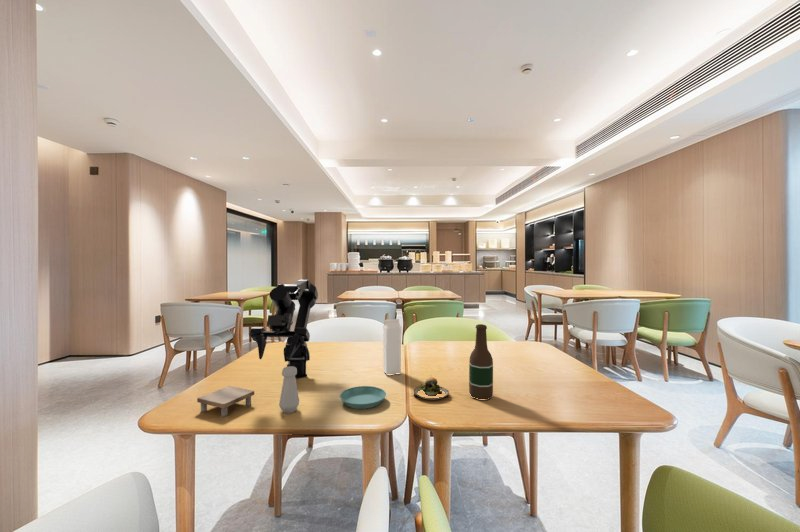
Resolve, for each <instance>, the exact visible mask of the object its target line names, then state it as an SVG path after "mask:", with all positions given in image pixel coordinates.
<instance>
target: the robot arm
mask: <svg viewBox="0 0 800 532" xmlns="http://www.w3.org/2000/svg"><path fill="white" fill-rule="evenodd" d="M269 298H270V300H271V302H272V303H273V306H274V307H275V308H276V313H275V314H271V315H270V314H269V315H268V316H267V323H266V324H267V326H269V329H270V330H266V329H265V328H264V326H263V327H261V326H253V327H252V328H250V329H249V331H248V335H249V336H250V338H251V339H252V340H253V342H255V343H256V344H257V351H258V359H259V360H262V359H263V356H264V353H265V349H266V346H267V341H266V340H268V338H286V343H285V345H284V348H283V356H284V358H283V359H284V362H287V364H286V367H289V366H293V367H296V368H297V374H296V375H295V379H299V378H305V377H308V374H307V362H309V361H310V360H311V359H310V357H311V356H310V350H309V347H308V344H307V342H309V341H310V339H311V338H310V336H311V335H310V334H311V333H310V332H309V330H308V322H309V318H310V313H311V309H312V308H313V307H314V306H315V305H316V302H317V300H318V298H319V294H318V290H317V286H315V285H314V284H312V283H311V280H310V279H298V280H296V281H295V282H293V283H291V284H284V283H278V284H277V286H276V287H273V288H272V289H271V291H269ZM294 301H297V302H298V305H299V308H298V312H297V316H296V319H295V325H294V329H293V331H292V330H291V328H292V325H293V323H294V322H293V319H294V313H295V311H296V303H295V302H294Z"/></svg>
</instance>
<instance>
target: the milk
mask: <svg viewBox="0 0 800 532" xmlns="http://www.w3.org/2000/svg"><path fill="white" fill-rule="evenodd" d="M382 329H383V330H382V331H383V334H382V338H383V339H382V345H383V347H382V348H383V349H382V353H383V354H382V368H383V369H382V371H383V370H384V372H385V373H386V374H396V373H402V372H401V371H402V369H401V368H402V367H401V366H402V365H401V364H402V359H401V358H402V327H401V324H400V319H399V318H391V319H390V318H389V319H388V318H387V319H385V320H384V324H383V327H382ZM384 372H383V373H384ZM385 373H384V374H385Z"/></svg>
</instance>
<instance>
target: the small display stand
mask: <svg viewBox="0 0 800 532" xmlns="http://www.w3.org/2000/svg"><path fill="white" fill-rule="evenodd" d="M254 395H255V390H250V389H247V388H240V387H237V386H231V385H228V386H226V387H222V388H220V389H218V390H215V391H212V392H209V393H207V394H204V395H202V396H198V397H197V399H196V400H197V401H196V402H197V403H199V404H200V412H201V413H204V412H206V411H208V406H213V407H216V408H220V412H221V414H220V416H221V418H225V417H227V416H228V407H230V406H232V405H234V404H237V403H239V402H242V401H243V400H245V406H251V405H252V396H254Z"/></svg>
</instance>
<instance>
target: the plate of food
mask: <svg viewBox="0 0 800 532" xmlns="http://www.w3.org/2000/svg"><path fill="white" fill-rule="evenodd" d="M420 390H423V391H424V392H425V394H426V395H428V396H436V395H437V394H442V391H444V392H445V394H446V395H445V396H444V397H439V398H425V397H421V396H418V394H417V393H418V391H420ZM440 390H442V391H440ZM414 395H415V396H417V397H418V398H421V399H425V400H441V399H443V398H446V397H448V396H449V397H450V393H449V390H448V389H447V388H445V387H443V386H441V385H439V383H438V380H437V378H435V377H432V376H430V377H428V378H426V379H425V381H424V385H422V384H421V385H420V386H417V387H415V388H414V390H413V396H414Z"/></svg>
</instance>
